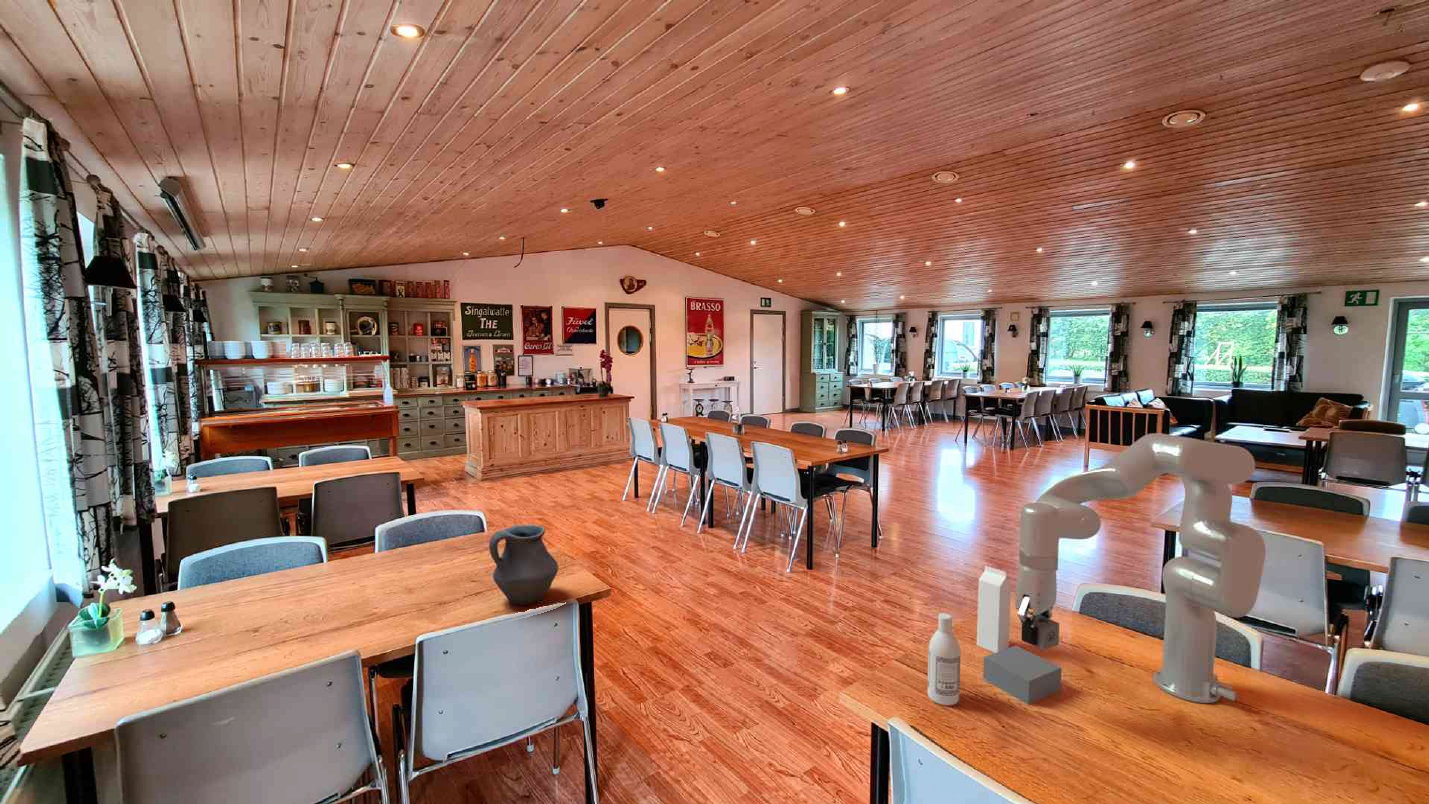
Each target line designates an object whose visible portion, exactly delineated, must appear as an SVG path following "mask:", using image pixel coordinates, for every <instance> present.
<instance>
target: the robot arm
mask: <svg viewBox="0 0 1429 804" xmlns="http://www.w3.org/2000/svg"><path fill="white" fill-rule="evenodd" d="M1255 470H1256V461H1255V458H1254V456H1253V455H1252V453H1251V452H1249V450H1247V449H1246V448H1244V447H1241V446H1238V445H1232V444H1227V443H1226V444H1225V443H1219V442H1212V441H1209V440H1208V441H1207V440H1203V439H1198V438H1192V437H1187V436H1186V437H1185V436H1179V435H1172V434H1167V433H1159V432H1158V433H1155V432H1154V433H1148V434H1145V435H1143V436H1141V437H1140V438H1138V439H1137V440H1136V441H1135V442H1133V443H1132V444H1131V445H1130V446H1127V447H1126V448H1125V449H1124V450H1123V451H1122V452H1120V453H1119V454H1118V455H1116V456H1115V457H1113V459H1111V460H1110V461H1108V462H1107V463H1106V464H1105V465H1103V466H1101V467H1097V468H1095V469H1094V468H1093V469H1089V470H1087V471H1084V472H1081V473H1078V474H1074V475H1072V476H1069V477H1066V478H1064V479H1061V480H1060V481H1057V482H1056V483H1055V484H1054V485H1053V486H1051V487H1050V488H1048V489H1047V490H1046V491H1045V492H1043V493H1042V495H1040V496H1039V497H1038V499H1037V500H1036V501H1035V502H1029V503H1025V504H1023V505H1022V507H1021V509H1020V519H1019V520H1020V525H1019V526H1020V527H1019V528H1020V529H1019V555H1018V556H1019V557H1018V558H1019V560H1018V561H1019V562H1018V564H1019V568H1018V574H1017V578H1016V586H1015V598H1014V600H1015V601H1014V608H1015V609H1016V611H1017V610H1018V612H1017V617H1018V618H1019V619H1020V624H1021V641H1023V642H1024V643H1028V644H1030V645H1032V646H1034V645H1037V639H1038V628H1037V627H1036V623H1037V618H1038V615H1042V616H1044V617H1046V618H1048V619H1051V620H1052V617H1053V612H1052V610H1053V608H1054V606H1055V604H1056V602H1057V592H1058V591H1057V590H1058V589H1057V585H1058V584H1057V571H1059V570H1058V569H1059V547H1060V545H1059V544H1060V543H1059V542H1060V539H1070V540H1087V539H1090V538H1093V537H1094V536H1095V535H1097V534H1098V533H1099V531H1100V529H1101V526H1102V520H1101V518H1100V517H1101V516H1100V515H1099V514H1098V513H1097V512H1096V511H1095V510H1094V509H1093V508H1091V507H1089V506H1086V505H1085V504H1084V503H1088V502H1092V501H1099V500H1121V499H1127V498H1128V499H1129V498H1132V497H1133V498H1134V497H1135V496H1137V495H1138V494H1139V493H1140V492H1142V490H1143V491H1144V490H1145V489H1146V487H1148V486H1149V485H1150V484H1152V483H1153V482H1154V481H1156V480H1157V479H1158V478H1160V477H1161V476H1162V475H1164V474H1170V475H1175V476H1179V478H1180V480H1181V481H1182V484H1183V487H1184V502H1183V508H1182V512H1181V518H1180V523H1179V529H1178V543H1179V544H1180V545H1181V547H1182V548H1183V549H1185V550H1186V551H1189V552H1191V553H1193V554H1195V555H1198V556H1201V557H1205V558H1207V559H1209V560H1213V561H1215V562H1219V563H1220V566H1217V565H1214V564H1211V563H1209V562H1206V561H1203V560H1201V559H1197V558H1194V557H1190V556H1189V557H1188V556H1177V557H1173V558H1171V559H1169V560H1168V561H1167V562H1166V563H1165V565H1164V567H1163V569H1162V584H1163V588H1164V589H1163V590H1164V595H1165V615H1164V618H1165V619H1164V635H1163V647H1162V660H1161V661H1162V663H1161V664H1162V665H1161V669H1159V670H1157V671H1155V672H1154V673H1153V681H1154V683H1155V684H1156V686H1158V687H1159V688H1160V689H1162V690H1163V691H1164V692H1166V693H1168V694H1170V695H1173V696H1174V697H1177V698H1180V699H1183V700H1185V701H1191V702H1195V703H1201V704H1211V703H1216V702H1218V701H1219V700H1220V699H1221V697H1223V698H1225V699H1228V700H1230V701H1233V702H1235V701H1236V699H1237V692H1235V691H1234V690H1233V686H1229V685H1226V684H1222V683H1221V682H1220V681H1218V677H1219V675H1217V674H1214V673H1215V657H1216V655H1215V654H1216V646H1217V645H1216V644H1217V643H1216V642H1217V629H1218V621H1217V617H1216V613H1215V612H1217V613H1220V614H1222V615H1225V616H1227V617H1231V618H1241V617H1242V618H1243V617H1245V616H1246V615H1248V614H1249V613H1251V611H1252V610H1253V609H1254V606H1255V605H1256V602H1257V600H1258V596H1259V591H1260V586H1261V580H1262V577H1263V571H1264V566H1265V562H1266V561H1265V560H1266V553H1267V549H1266V548H1267V547H1266V543H1265V541H1264V538H1263V536H1262V535H1261V533H1260V532H1258V530H1255V529H1254V528H1253V527H1250V526H1248V525H1245V524H1241V523H1238V522H1234V521H1232V520H1231V515H1232V505H1233V493H1232V490H1231V488H1230V487H1231V485H1232V486H1234V485H1239V484H1242V483H1245V482H1246V481H1248V480H1249V479H1250V478H1251V477H1252V476H1253V474H1254V473H1255ZM1229 485H1230V486H1229ZM1031 610H1032V611H1031ZM1030 616H1033V618H1032V620H1031V619H1030V618H1029V617H1030Z"/></svg>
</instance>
